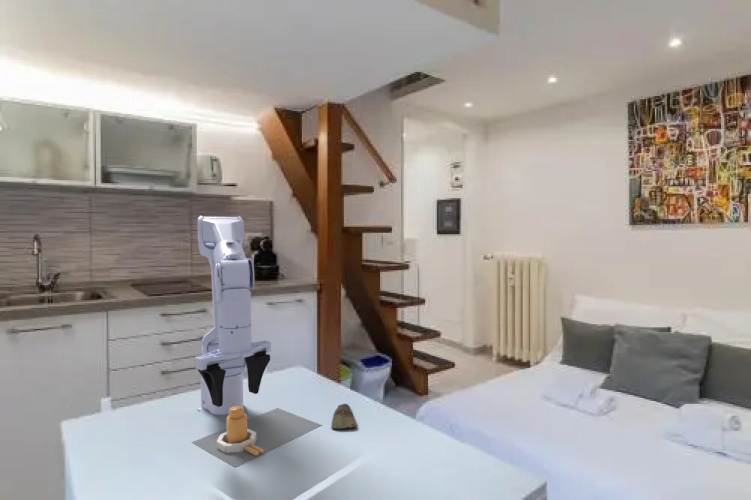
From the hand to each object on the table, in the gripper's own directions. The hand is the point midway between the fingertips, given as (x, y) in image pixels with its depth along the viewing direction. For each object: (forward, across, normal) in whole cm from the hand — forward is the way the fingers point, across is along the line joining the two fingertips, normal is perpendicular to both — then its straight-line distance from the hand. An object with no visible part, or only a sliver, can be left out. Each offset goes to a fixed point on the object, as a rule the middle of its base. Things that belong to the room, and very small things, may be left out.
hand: (236, 398), depth 79 cm
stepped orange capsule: (+8, 0, 0) cm, 8 cm away
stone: (+10, +21, -8) cm, 24 cm away
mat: (+9, +5, 0) cm, 10 cm away
